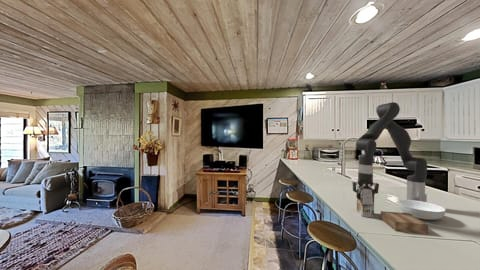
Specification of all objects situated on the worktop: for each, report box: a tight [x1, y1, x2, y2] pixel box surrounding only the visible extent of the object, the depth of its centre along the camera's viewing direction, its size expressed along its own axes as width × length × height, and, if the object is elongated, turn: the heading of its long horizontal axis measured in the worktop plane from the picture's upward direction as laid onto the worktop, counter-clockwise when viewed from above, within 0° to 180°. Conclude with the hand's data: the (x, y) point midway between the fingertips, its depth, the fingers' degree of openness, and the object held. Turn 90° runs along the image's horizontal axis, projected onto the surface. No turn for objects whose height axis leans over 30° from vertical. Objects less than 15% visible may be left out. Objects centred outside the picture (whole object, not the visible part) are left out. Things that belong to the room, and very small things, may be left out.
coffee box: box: [356, 185, 375, 218], centre depth 120 cm, size 9×6×16 cm
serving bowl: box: [397, 199, 447, 221], centre depth 117 cm, size 21×21×7 cm
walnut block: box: [380, 210, 429, 235], centre depth 104 cm, size 14×14×5 cm
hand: (365, 199), depth 120 cm, fingers closed on coffee box, 6 cm apart
